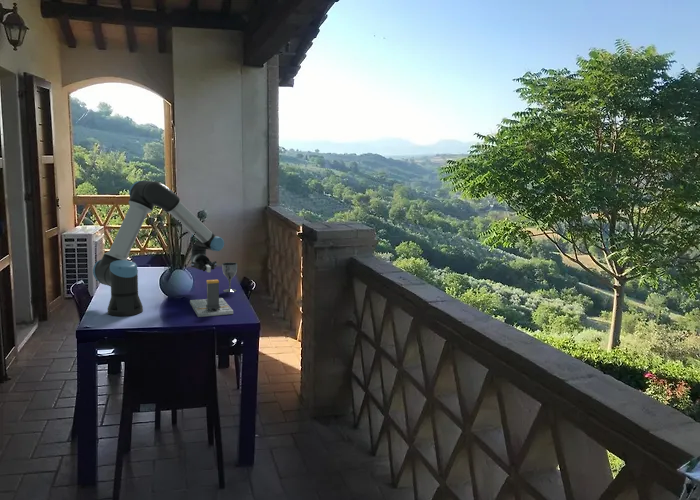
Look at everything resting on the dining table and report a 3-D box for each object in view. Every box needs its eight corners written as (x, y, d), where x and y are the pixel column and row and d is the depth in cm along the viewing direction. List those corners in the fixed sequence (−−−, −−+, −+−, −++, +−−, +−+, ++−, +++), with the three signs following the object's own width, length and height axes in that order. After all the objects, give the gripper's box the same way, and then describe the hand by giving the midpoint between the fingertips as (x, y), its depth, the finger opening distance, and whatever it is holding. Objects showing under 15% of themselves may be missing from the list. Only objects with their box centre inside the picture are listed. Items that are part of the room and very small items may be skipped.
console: (198, 317, 258) (198, 313, 258) (190, 303, 282) (189, 300, 282) (233, 314, 265) (233, 310, 264) (222, 300, 288) (222, 297, 288)
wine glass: (233, 292, 306) (233, 265, 303) (220, 291, 307) (219, 264, 305) (239, 289, 314) (239, 262, 311) (226, 288, 315) (225, 262, 313)
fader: (207, 309, 264) (207, 282, 262) (205, 306, 269) (205, 279, 267) (220, 307, 267) (220, 281, 265) (218, 305, 271) (218, 279, 269)
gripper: (214, 268, 300) (222, 276, 279) (188, 269, 295) (195, 277, 274) (214, 254, 299) (222, 261, 278) (188, 254, 294) (195, 262, 273)
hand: (209, 269), depth 276 cm, fingers closed
